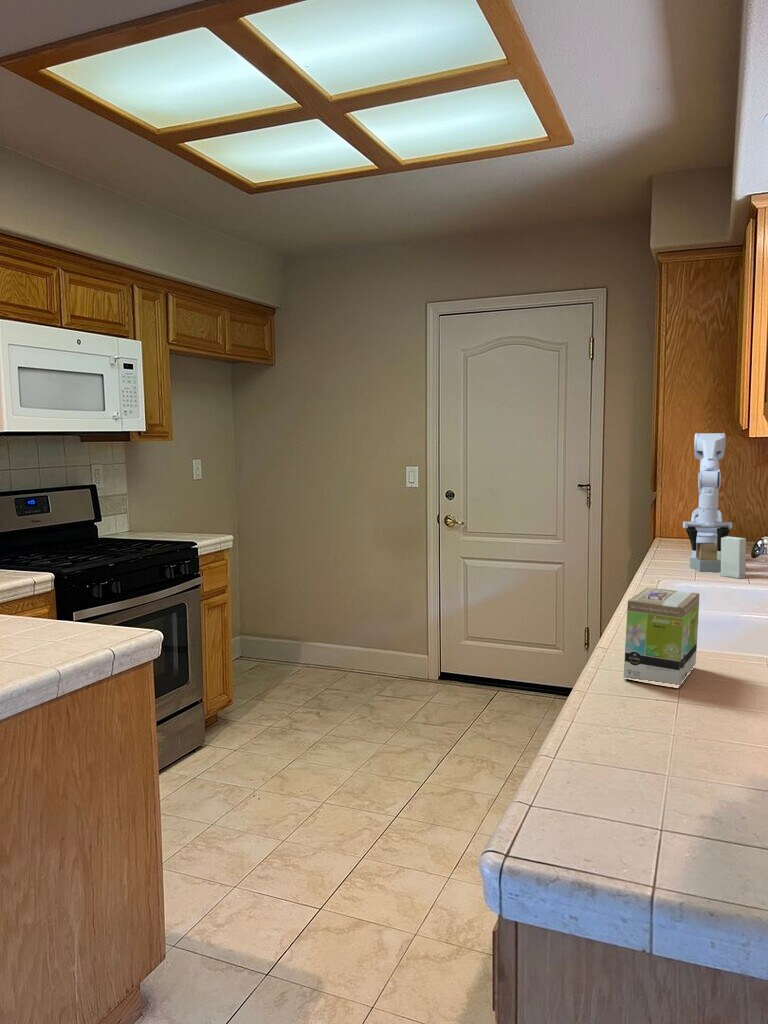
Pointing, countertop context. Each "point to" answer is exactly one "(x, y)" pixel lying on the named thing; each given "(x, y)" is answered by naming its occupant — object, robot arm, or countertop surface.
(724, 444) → the robot arm
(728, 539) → the skincare box
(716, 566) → the slate block
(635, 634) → the tea box
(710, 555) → the walnut cube
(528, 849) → the countertop surface
